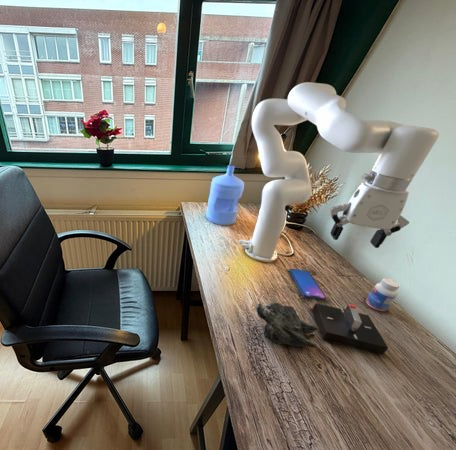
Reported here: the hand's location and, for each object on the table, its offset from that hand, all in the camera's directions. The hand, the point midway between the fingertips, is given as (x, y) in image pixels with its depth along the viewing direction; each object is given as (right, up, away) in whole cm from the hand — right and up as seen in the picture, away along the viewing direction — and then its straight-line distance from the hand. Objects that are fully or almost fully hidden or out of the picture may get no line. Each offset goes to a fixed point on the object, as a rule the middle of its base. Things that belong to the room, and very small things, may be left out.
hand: (353, 241), depth 67 cm
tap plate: (-1, -26, +2) cm, 26 cm away
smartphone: (-1, -17, +19) cm, 25 cm away
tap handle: (0, -23, +1) cm, 23 cm away
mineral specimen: (-20, -26, 0) cm, 33 cm away
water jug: (-20, +7, +62) cm, 66 cm away
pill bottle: (+17, -22, +12) cm, 30 cm away
